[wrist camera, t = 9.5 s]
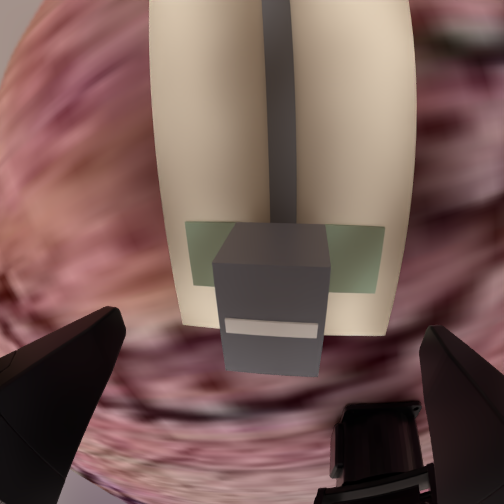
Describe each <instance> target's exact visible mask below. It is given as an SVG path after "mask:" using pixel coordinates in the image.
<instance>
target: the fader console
mask: <svg viewBox="0 0 504 504" xmlns="http://www.w3.org/2000/svg"><path fill="white" fill-rule="evenodd" d="M149 57H150V83H151V100H152V115H153V128H154V139H155V150H156V160H157V169H158V177H159V186H160V194H161V201H162V209H163V216H164V223H165V229H166V236H167V242H168V248H169V254H170V260H171V266H172V271H173V277H174V282H175V288H176V293H177V298H178V303H179V308H180V313H181V318H182V322H183V325H191V326H200V327H209V328H220V325H219V318H218V310H217V302H216V294H215V286H214V277H213V268H212V262H213V260H214V258H215V257H216V255H217V253H218V252H219V250H220V248H221V247H222V245H223V243H224V242H225V240H226V238H227V237H228V235H229V233H230V232H231V230H232V229H233V227H234V225H235V224H236V222H255V223H297V224H325V227H326V234H327V241H328V248H329V255H330V262H331V274H330V285H329V295H328V304H327V313H326V322H325V330H324V335H343V336H385V333H386V330H387V326H388V322H389V318H390V314H391V310H392V306H393V302H394V298H395V293H396V289H397V284H398V279H399V274H400V269H401V264H402V259H403V253H404V247H405V241H406V235H407V228H408V221H409V214H410V206H411V197H412V188H413V177H414V164H415V147H416V69H415V54H414V42H413V32H412V23H411V15H410V8H409V1H408V0H149Z"/></svg>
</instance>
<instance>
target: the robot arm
mask: <svg viewBox="0 0 504 504" xmlns="http://www.w3.org/2000/svg"><path fill="white" fill-rule="evenodd" d="M125 336H126V327H125V324H124V321H123V318H122V315H121V312H120V310H119V309H118V308H116V307H111V306H106V307H103V308H101V309H99V310H97V311H95V312H93V313H91V314H89V315H87V316H85V317H83V318H81V319H78V320H76V321H74V322H72V323H70V324H68V325H66V326H64V327H62V328H60V329H58V330H56V331H54V332H52V333H50V334H48V335H46V336H44V337H42V338H40V339H38V340H36V341H34V342H32V343H30V344H27V345H25V346H23V347H21V348H19V349H18V350H15V351H13V352H11V353H9V354H7V355H5V356H3V357H1V358H0V504H57V502H58V499H59V496H60V493H61V490H62V488H63V485H64V483H65V479H66V477H67V474H68V472H69V469H70V467H71V464H72V462H73V459H74V457H75V454H76V452H77V450H78V447H79V445H80V442H81V440H82V438H83V435H84V433H85V431H86V428H87V426H88V424H89V422H90V419H91V417H92V415H93V413H94V410H95V408H96V406H97V404H98V402H99V399H100V397H101V395H102V393H103V391H104V389H105V387H106V384H107V382H108V380H109V378H110V376H111V373H112V371H113V368H114V366H115V363H116V360H117V357H118V354H119V352H120V349H121V346H122V344H123V341H124V339H125ZM419 357H420V365H421V374H422V383H423V394H424V402H425V408H426V414H427V419H428V425H429V431H430V437H431V444H432V451H433V459H434V462H433V463H430V464H427V466H424V465H423V459H422V453H421V447H420V441H419V436H418V430H417V425H416V420H415V419H416V417H417V415H418V414H419V412H420V410H421V408H422V406H421V403H420V402H406V403H392V404H371V405H348V406H346V407H345V408H344V411H343V414H342V417H341V420H340V423H337V424H336V425H335V427H334V430H333V433H332V436H331V449H330V477H331V478H337V482H336V487H333V488H319V489H318V492H317V496H316V497H315V500H314V504H504V375H503V374H502V373H501V372H499V371H498V370H497V369H496V368H495V367H493V366H492V365H491V364H490V363H489V362H487V361H486V360H485V359H484V358H483V357H481V356H480V355H479V354H478V353H476V352H475V351H474V350H473V349H471V348H470V347H469V346H468V345H467V344H465V343H464V342H463V341H462V340H460V339H459V338H458V337H456V336H455V335H454V334H453V333H451V332H450V331H449V330H448V329H446V328H445V327H444V326H442V325H430V326H429V327H428V328H427V330H426V332H425V335H424V338H423V341H422V343H421V346H420V350H419ZM425 489H429V491H427V492H424V493H421V494H420V491H421V490H425Z"/></svg>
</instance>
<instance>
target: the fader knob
mask: <svg viewBox="0 0 504 504" xmlns="http://www.w3.org/2000/svg"><path fill="white" fill-rule="evenodd" d="M212 268H213V277H214V286H215V294H216V302H217V310H218V318H219V325H220V333H221V340H222V347H223V355H224V362H225V368H226V370H229V371H238V372H247V373H258V374H271V375H285V376H304V377H318V372H319V366H320V359H321V352H322V345H323V337H324V330H325V322H326V313H327V304H328V295H329V285H330V274H331V262H330V255H329V248H328V241H327V234H326V227H325V224H297V223H255V222H236V224H235V225H234V227H233V229H232V230H231V232H230V233H229V235H228V237H227V238H226V240H225V242H224V243H223V245H222V247H221V248H220V250H219V252H218V253H217V255H216V257H215V258H214V260H213V262H212Z"/></svg>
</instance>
